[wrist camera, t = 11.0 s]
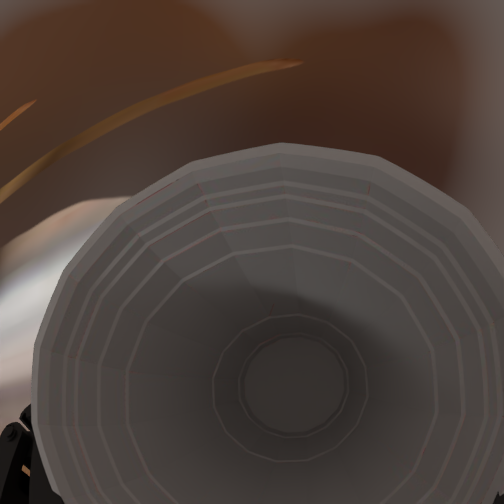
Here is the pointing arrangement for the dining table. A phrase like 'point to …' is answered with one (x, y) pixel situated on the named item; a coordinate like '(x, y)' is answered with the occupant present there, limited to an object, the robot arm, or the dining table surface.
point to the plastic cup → (277, 341)
